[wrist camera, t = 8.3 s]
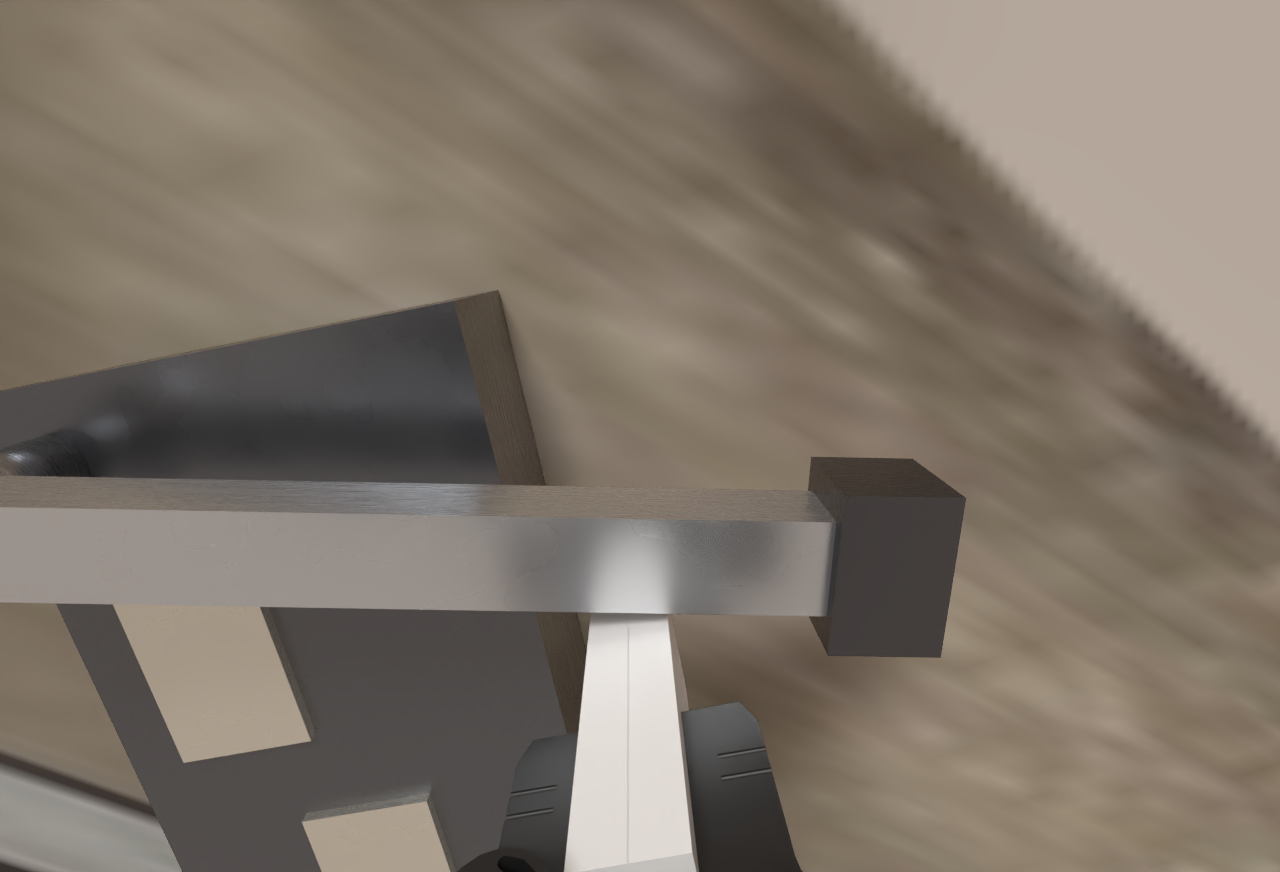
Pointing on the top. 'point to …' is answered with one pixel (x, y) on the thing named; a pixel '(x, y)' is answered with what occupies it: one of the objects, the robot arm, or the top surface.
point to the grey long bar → (505, 548)
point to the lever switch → (316, 637)
